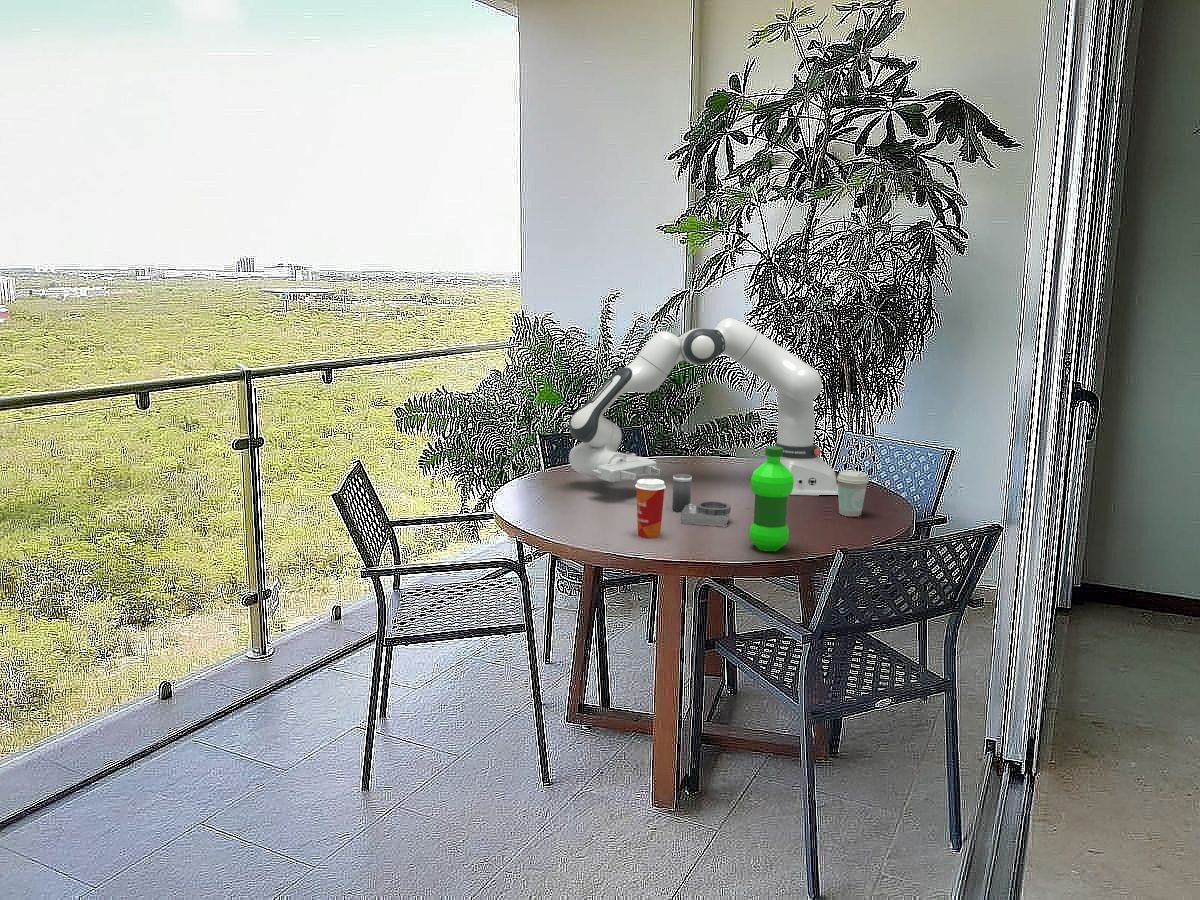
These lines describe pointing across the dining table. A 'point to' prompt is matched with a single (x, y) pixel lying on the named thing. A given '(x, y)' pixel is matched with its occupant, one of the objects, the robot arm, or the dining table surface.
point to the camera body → (706, 513)
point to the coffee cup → (851, 492)
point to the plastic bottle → (771, 502)
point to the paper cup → (649, 507)
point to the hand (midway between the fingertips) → (647, 474)
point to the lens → (681, 491)
